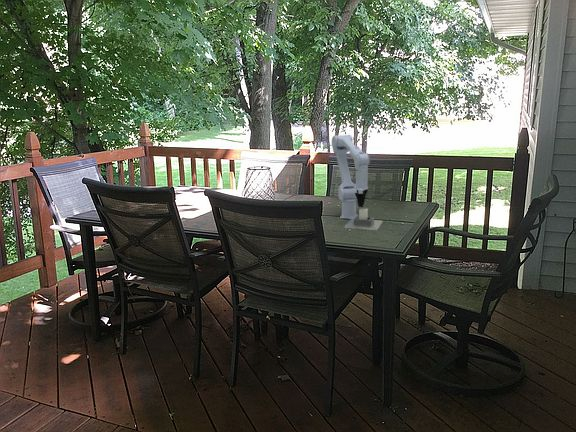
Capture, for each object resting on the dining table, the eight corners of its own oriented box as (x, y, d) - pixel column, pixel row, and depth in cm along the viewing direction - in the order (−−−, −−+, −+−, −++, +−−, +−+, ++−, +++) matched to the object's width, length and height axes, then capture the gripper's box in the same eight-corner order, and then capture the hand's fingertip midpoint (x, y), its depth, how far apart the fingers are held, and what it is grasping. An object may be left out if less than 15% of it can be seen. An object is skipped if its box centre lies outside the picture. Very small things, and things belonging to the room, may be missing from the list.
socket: (351, 220, 262) (351, 214, 262) (382, 222, 257) (382, 215, 257) (344, 228, 248) (344, 221, 247) (377, 230, 243) (377, 223, 242)
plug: (359, 222, 255) (359, 208, 253) (367, 222, 254) (367, 208, 252) (358, 224, 251) (359, 210, 249) (367, 224, 250) (367, 210, 248)
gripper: (354, 176, 258) (354, 202, 262) (352, 180, 245) (352, 208, 248) (368, 176, 257) (368, 202, 260) (367, 180, 243) (366, 208, 246)
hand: (361, 205), depth 254 cm, fingers open, 7 cm apart
